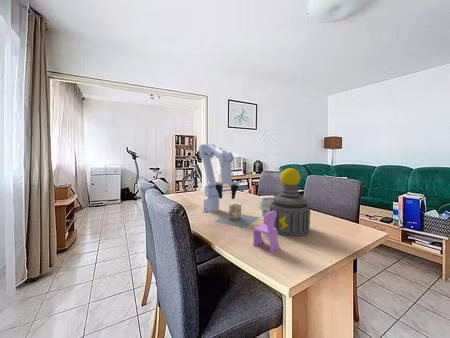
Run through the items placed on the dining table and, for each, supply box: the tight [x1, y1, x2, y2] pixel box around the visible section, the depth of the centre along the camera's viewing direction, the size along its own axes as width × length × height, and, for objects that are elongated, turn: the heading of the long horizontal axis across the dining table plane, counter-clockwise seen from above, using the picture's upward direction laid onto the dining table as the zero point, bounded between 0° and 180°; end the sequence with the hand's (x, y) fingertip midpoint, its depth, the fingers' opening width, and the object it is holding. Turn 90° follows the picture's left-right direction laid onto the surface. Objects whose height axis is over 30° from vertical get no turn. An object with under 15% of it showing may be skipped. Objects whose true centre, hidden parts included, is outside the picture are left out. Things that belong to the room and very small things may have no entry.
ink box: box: [259, 195, 275, 217], centre depth 125 cm, size 9×5×12 cm, turn 100°
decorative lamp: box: [270, 167, 311, 237], centre depth 103 cm, size 19×19×30 cm
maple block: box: [228, 203, 242, 221], centre depth 117 cm, size 4×6×8 cm, turn 147°
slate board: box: [213, 213, 261, 229], centre depth 116 cm, size 18×20×1 cm
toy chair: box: [252, 211, 280, 253], centre depth 85 cm, size 8×9×15 cm
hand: (227, 198), depth 119 cm, fingers open, 7 cm apart
